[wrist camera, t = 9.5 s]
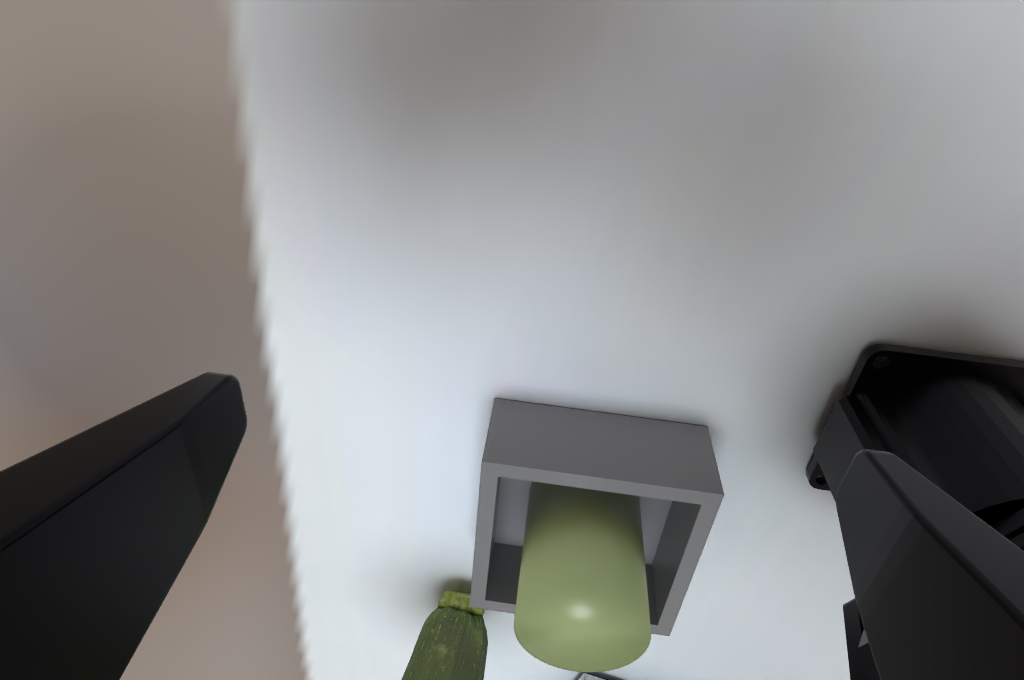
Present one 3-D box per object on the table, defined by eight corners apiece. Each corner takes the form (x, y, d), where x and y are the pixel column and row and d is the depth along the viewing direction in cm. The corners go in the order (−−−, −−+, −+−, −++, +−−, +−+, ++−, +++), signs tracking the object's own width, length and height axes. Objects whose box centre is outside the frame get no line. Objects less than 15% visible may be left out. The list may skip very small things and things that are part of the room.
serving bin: (707, 426, 24) (723, 495, 21) (661, 563, 28) (669, 636, 26) (494, 398, 24) (481, 461, 21) (481, 538, 29) (469, 606, 26)
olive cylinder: (649, 465, 25) (663, 600, 19) (629, 543, 27) (637, 680, 22) (534, 450, 25) (519, 579, 20) (524, 528, 27) (508, 661, 22)
